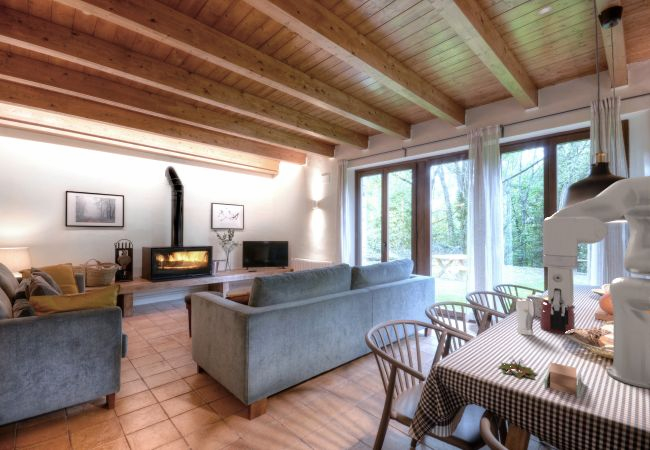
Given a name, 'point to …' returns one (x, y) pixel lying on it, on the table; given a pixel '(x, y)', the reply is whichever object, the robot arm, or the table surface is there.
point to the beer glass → (525, 315)
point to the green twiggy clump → (518, 367)
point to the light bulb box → (536, 303)
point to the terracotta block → (563, 378)
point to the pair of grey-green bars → (549, 379)
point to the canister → (546, 316)
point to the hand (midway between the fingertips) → (559, 326)
